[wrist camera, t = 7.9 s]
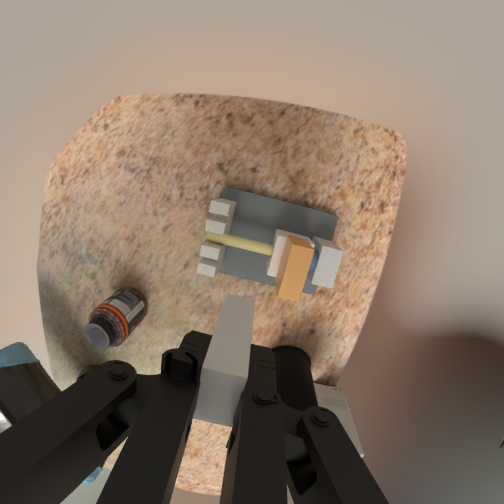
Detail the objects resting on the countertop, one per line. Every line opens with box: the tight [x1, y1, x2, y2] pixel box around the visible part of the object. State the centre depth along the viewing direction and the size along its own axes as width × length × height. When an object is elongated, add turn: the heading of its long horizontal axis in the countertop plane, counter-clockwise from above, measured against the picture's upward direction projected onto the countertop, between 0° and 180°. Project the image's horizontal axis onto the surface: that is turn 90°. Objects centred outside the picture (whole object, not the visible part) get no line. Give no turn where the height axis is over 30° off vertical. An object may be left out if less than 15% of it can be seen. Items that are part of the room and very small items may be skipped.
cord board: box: [196, 187, 344, 295], centre depth 32 cm, size 15×11×8 cm
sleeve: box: [267, 229, 315, 302], centre depth 28 cm, size 4×5×9 cm
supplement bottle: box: [85, 288, 147, 351], centre depth 34 cm, size 6×6×11 cm
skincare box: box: [314, 383, 364, 458], centre depth 35 cm, size 8×7×16 cm
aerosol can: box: [272, 346, 318, 412], centre depth 31 cm, size 8×8×20 cm
